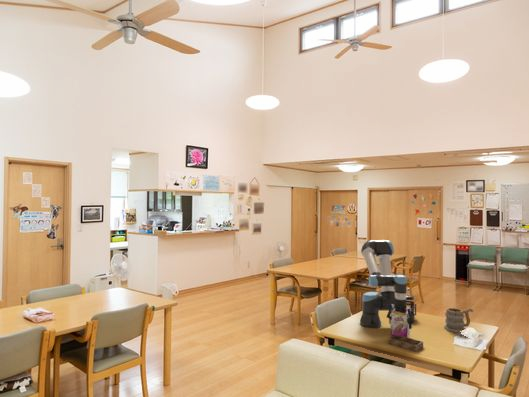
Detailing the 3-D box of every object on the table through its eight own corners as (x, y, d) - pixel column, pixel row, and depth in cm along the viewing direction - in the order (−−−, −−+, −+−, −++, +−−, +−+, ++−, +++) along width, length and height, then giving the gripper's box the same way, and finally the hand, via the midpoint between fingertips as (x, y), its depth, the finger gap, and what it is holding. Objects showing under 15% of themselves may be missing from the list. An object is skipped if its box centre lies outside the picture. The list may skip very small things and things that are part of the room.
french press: (398, 316, 302) (399, 287, 303) (405, 314, 308) (405, 286, 308) (412, 320, 293) (412, 290, 293) (419, 318, 299) (419, 288, 299)
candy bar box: (390, 334, 257) (390, 310, 257) (393, 332, 261) (393, 309, 261) (407, 338, 250) (407, 313, 250) (409, 336, 254) (410, 312, 254)
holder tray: (388, 343, 244) (388, 338, 244) (395, 339, 251) (395, 334, 251) (416, 351, 231) (416, 346, 231) (423, 347, 238) (423, 341, 238)
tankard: (450, 332, 266) (450, 311, 266) (441, 326, 279) (441, 306, 279) (478, 332, 267) (478, 311, 267) (468, 326, 279) (468, 306, 280)
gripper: (381, 296, 262) (381, 327, 262) (415, 303, 245) (415, 337, 245) (386, 294, 267) (386, 325, 267) (420, 301, 250) (420, 334, 250)
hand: (400, 331), depth 256 cm, fingers closed on candy bar box, 11 cm apart
